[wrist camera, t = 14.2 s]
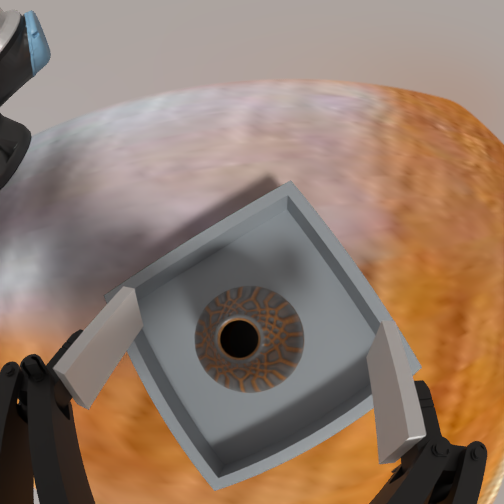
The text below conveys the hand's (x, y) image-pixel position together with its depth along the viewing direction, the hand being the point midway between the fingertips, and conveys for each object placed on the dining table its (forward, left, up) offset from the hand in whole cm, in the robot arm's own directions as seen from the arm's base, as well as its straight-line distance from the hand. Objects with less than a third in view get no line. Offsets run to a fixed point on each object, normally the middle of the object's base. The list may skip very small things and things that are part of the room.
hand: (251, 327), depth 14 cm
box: (0, -1, -8) cm, 8 cm away
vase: (0, -1, -8) cm, 8 cm away
